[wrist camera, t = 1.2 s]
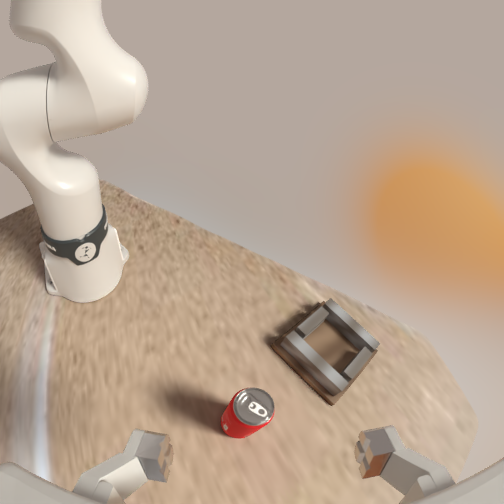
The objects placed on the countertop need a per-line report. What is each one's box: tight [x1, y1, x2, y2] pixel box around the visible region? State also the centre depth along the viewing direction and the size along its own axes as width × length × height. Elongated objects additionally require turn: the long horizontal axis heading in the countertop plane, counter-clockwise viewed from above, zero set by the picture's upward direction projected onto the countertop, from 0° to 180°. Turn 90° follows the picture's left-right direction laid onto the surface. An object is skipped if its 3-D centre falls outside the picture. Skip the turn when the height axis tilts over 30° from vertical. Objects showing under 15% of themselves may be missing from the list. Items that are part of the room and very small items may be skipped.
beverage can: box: [221, 388, 274, 438], centre depth 33 cm, size 5×5×12 cm
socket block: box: [271, 298, 380, 406], centre depth 48 cm, size 15×15×4 cm
